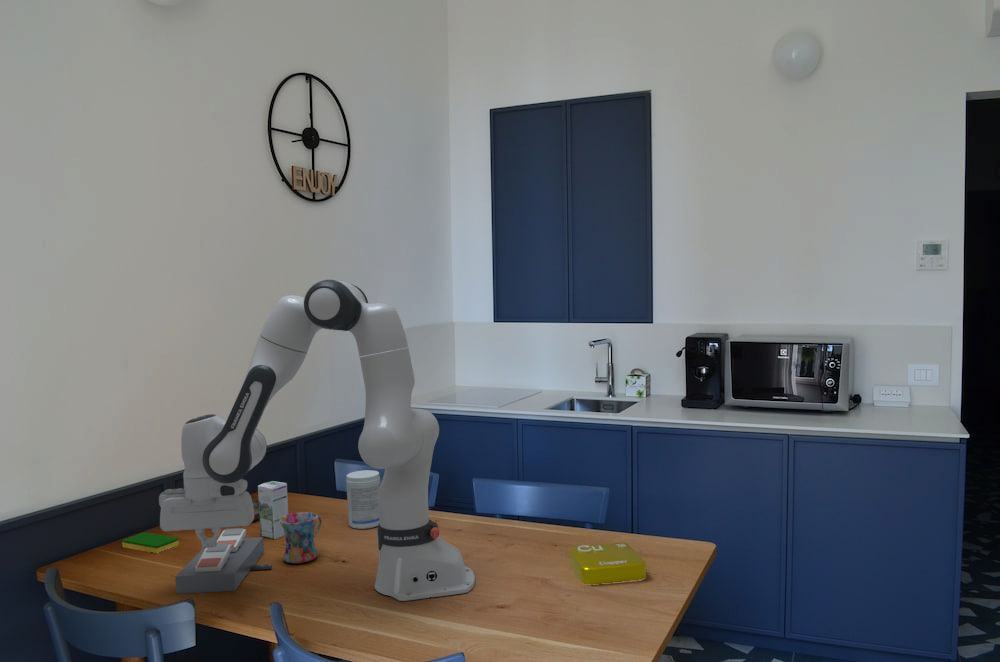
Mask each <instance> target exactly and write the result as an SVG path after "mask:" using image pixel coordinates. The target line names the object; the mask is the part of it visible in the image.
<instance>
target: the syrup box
mask: <svg viewBox="0 0 1000 662" xmlns="http://www.w3.org/2000/svg"><path fill="white" fill-rule="evenodd" d="M257 495H258V500H259V515H260V519H259V526H260V529H259V530H260V537H263V538H266V539H272V540H277V539H281V538H283V537H285V533H284V530H283V527H282V525H281V523H280V518H282V517H283V516H286V515H289V501H288V483H287V482H280V481H274V480H271V481H267V482H264V483H261V484H259V485H257Z"/></svg>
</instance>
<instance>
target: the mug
mask: <svg viewBox="0 0 1000 662" xmlns="http://www.w3.org/2000/svg"><path fill="white" fill-rule="evenodd" d="M317 521H318V525H317ZM322 521H323V520H322V518H321V517H320V516H319V515H318V514H317V513H314V512H307V511H305V512H304V511H303V512H294V513H290V514H289V513H288V515H286V516H283V517H282V518H280V523H281V525H282V527H283V530H284V533H285V536H284V537H285V551H284V554H283V557H282V559H283V561H284V562H287V563H288V564H289V563H291V564H303V563H308V562H310V561H314V560H315V559H316V558H317V557H318V556H319V553H318V550H317V548H316V546H315V538H316V536H317V535H318V534H319V531H320V529H321V526H322ZM316 525H317V528H316ZM315 528H316V531H315Z"/></svg>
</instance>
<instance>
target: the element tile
mask: <svg viewBox="0 0 1000 662" xmlns="http://www.w3.org/2000/svg"><path fill="white" fill-rule="evenodd" d="M568 557H569V559H568V564H569V565H570V566H571V567H570V566H569V565H568V566H569V567H570V569H571V568H572V569H573V570H572V569H571V570H572V572H573V571H574V572H575V573H574V572H573V573H574V575H575V574H576V575H577V576H576V575H575V576H576V578H577V577H578V578H579V579H580V581H581V582H582V583H584V584H591V585H593V584H602V583H613V582H622V581H630V580H639V579H643V578H645V577H646V578H647V562H646V560H644V559H645V558H643V557H642V556H641V555H640V554H639V553H638V552H637V551H636V550H635V549H634V548H633V547H632V546H631V545H630V544H628V543H627V542H614V543H603V544H600V543H599V544H591V545H579V546H578V545H577V546H572V547H570V548H569V549H568ZM578 578H577V579H578ZM579 579H578V580H579ZM580 581H579V582H580ZM581 582H580V583H581Z"/></svg>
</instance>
